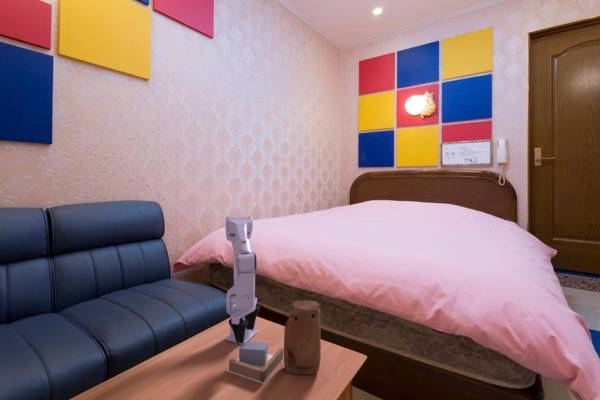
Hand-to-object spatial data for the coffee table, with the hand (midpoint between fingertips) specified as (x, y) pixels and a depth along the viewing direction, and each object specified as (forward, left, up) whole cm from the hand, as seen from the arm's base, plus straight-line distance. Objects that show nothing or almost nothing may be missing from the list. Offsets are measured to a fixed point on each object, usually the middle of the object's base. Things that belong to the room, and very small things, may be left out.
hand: (245, 335), depth 89 cm
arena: (0, +4, -9) cm, 9 cm away
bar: (-1, +3, -8) cm, 8 cm away
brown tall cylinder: (-5, +17, -9) cm, 20 cm away
